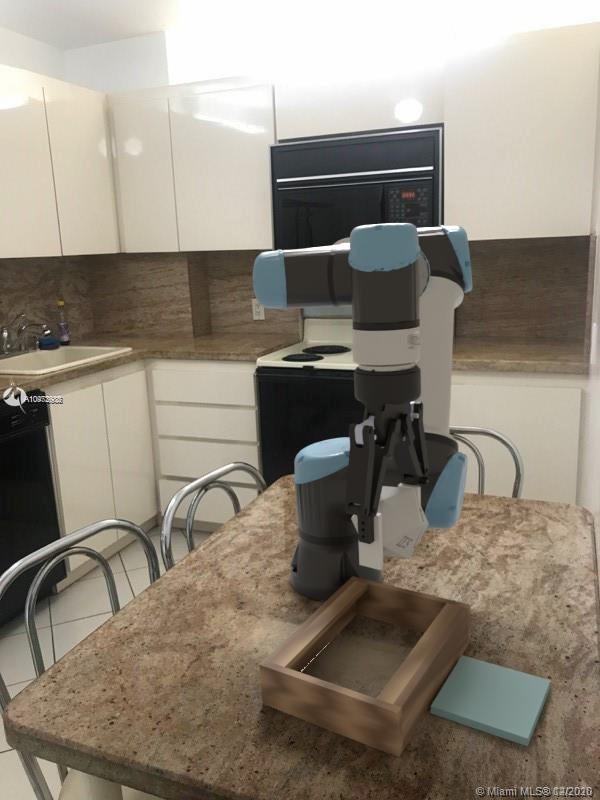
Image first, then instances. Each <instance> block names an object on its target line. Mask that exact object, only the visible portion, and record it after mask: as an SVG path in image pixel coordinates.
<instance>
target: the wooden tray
mask: <svg viewBox="0 0 600 800" xmlns="http://www.w3.org/2000/svg"><path fill="white" fill-rule="evenodd" d="M471 608H472V604H470V603H465V602H461V601H458V600H457V601H456V600H452V599H448V598H444V597H440V596H435V595H432V594H427V593H423V592H420V591H415V590H411V589H407V588H402V587H398V586H396V585H395V586H394V585H391V584H386V583H382V582H381V583H378V582H374V581H370V580H366V579H362V578H358V577H354V576H352V577H351V578H350V579H349V580H348V581H347V582H346V583H345V584H344V585H343V586H342V587H341V588H340V589H339V590H338V591H337V592H335V593H334V594H333V595H332V596H331V597H330V598H329V599H328V600H327V601H324V602H323V604H322V605H320V606H319V607H318V608H317V609H316V610H315V611H314V612H313V613H312V614H311V615H309V617H308V618H307V619H305V620H304V622H302V623H301V624H300V625H299V626H298V627H297V628H296V629H295V630H294V631H293V632H292V633H290V635H289V636H287V637H286V638H285V639H284V640H283V641H282V642H281V643H280V644H279V645H278V646H277V647H276V648H274V650H273V651H271V653H270V654H268V656H266V657H265V658H264V659H263V660H262V661H261V662H259V664H258V667H259V679H260V691H261V701H262V705H263V704H265V705H264V706H266V705H267V706H266V707H268V706H270V707H269V708H271V707H272V708H271V709H273V708H275V709H274V710H276V709H278V710H277V711H279V710H281V711H283V712H282V713H284V712H285V713H284V714H286V713H287V714H286V715H289V714H290V715H289V716H291V715H293V716H292V717H294V716H295V718H297V717H298V718H297V719H299V718H301V719H300V720H302V719H303V720H302V721H304V720H305V722H307V721H308V722H307V723H309V722H310V723H309V724H312V725H315V726H318V727H320V728H321V729H325V730H327V731H330V732H333V733H335V734H338V735H340V736H343V737H345V738H347V739H351V740H353V741H356V742H359V743H361V744H364V745H366V746H369V747H372V748H374V749H376V750H379V751H381V752H384V753H387V754H389V755H392V756H395V757H398V758H400V756H401V755H402V754H403V751H405V748H406V747H407V746H408V744H409V743H410V741H411V739H412V737H413V736H414V734H415V732H416V730H418V727H419V726H420V724H421V723H422V721H423V719H424V718H425V716H426V715H427V714H428V712H429V709H431V705H432V703H433V702H434V700H435V699H436V697H437V695H438V694H439V692H440V690H441V689H442V687H443V686H444V684H445V682H446V681H447V679H448V678H449V676H450V674H451V673H452V671H453V669H454V668H455V666H456V665H457V663H458V661H459V660H460V658H461V656H462V655H463V654H464V653H465V651H466V650H467V648H468V647H469V645H470V643H471V640H472V634H471V633H472V630H471V629H472V626H471V625H472V624H471V623H472V621H471V620H472V619H471V618H472V609H471ZM357 615H358V616H362V617H366V618H370V619H373V620H377V621H381V622H384V623H388V624H390V625H395V626H399V627H403V628H406V629H410V630H413V631H417V632H420V633H423V635H422V636H421V637H420V639H418V641H417V642H416V644H415V645H414V647H413V648H412V650H411V651H410V652H409V653H408V655H407V656H406V657H405V659H404V660H403V662H402V663H401V664H400V665H399V667H398V668H397V669H396V671H395V672H394V674H393V675H392V676H391V678H390V679H389V681H388V682H387V683H386V685H385V686H384V688H383V689H382V690H381V692H379V694H378V695H377V697H376V698H375V697H373V696H370V695H367V694H363V693H360V692H358V691H356V690H353V689H350V688H346V687H344V686H341V685H338V684H335V683H332V682H329V681H327V680H323V679H322V678H321V679H320V678H317V677H315V676H311V675H310V674H305V673H303V672H302V673H300V672H301V670H302V669H304V667H306V666H307V665H308V663H310V661H311V660H312V659H313V658H315V657H316V655H317V654H318V653H319V652H320V651H321V650H322V649H323V648H324V647H325V646H326V645H327V644H328V643H329V642H330V641H331V640H332V639H333V638H334V637H335V636H336V637H337V636H338V635H339V634H340V633H341V632H342V631H343V630H344V628H346V626H348V624H350V622H351V621H352V620H353V619H354V618H355V617H356V616H357ZM341 630H342V631H341ZM340 631H341V632H340ZM339 632H340V633H339ZM336 637H335V638H336ZM335 638H334V639H335ZM334 639H333V640H334ZM333 640H332V641H333ZM332 641H331V642H332ZM331 642H330V643H331ZM330 643H329V644H330ZM329 644H328V645H329ZM328 645H327V646H328ZM327 646H326V647H327ZM326 647H325V648H326ZM325 648H324V649H325ZM316 658H317V657H316ZM316 658H315V659H316ZM310 664H311V663H310ZM308 666H309V665H308ZM308 666H307V667H308ZM307 667H306V668H307ZM281 711H280V712H281Z"/></svg>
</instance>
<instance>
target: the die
mask: <svg viewBox="0 0 600 800" xmlns="http://www.w3.org/2000/svg"><path fill="white" fill-rule="evenodd" d="M377 513H381V514H382V536H383V557H389V558H397V559H398V558H399V559H405V560H410V558H411V557H412V555H413V553H414V552H415V550H416V547H417V546H418V544H419V542H420V541H421V539H422V537H423V536H424V533H425V532H426V531H427V530H426V529H427V527H428V525H429V523H428V521H427V519H426V516H425V514H424V512H423V509H422V507H421V505H420V502H419V500H418V498H417V495H416V493H415V491H414V489H413V488H401V487H389V486H382V491H381V496H380V501H379V506H378V511H377ZM351 519H352V521H353V524H354V526H355V528H356V530H357V532H358V519H357V515H353V516H352V518H351Z"/></svg>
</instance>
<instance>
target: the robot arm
mask: <svg viewBox="0 0 600 800" xmlns="http://www.w3.org/2000/svg"><path fill="white" fill-rule="evenodd" d="M469 245H470V244H469V240H468V235H467V231H466V229H465V228H464V227H462V226H459V225H443V224H439V225H438V226H431V227H417V226H416V225H414V224H413V223H409V222H403V223H402V222H400V223H399V222H394V223H377V224H364V225H359V226H356V227H354V228H353V229H352V230H351V231H350V235H349V237H345V238H342V239H339V240H337V241H336V242H334V243H333V244H332V245H325V246H316V247H306V248H297V249H283V250H282V249H277V250H272V251H264V252H263V251H262V252H261V253H260V254H259V255H258V256H257V257H256V258H255V260H254V264H253V267H252V268H253V269H252V285H253V292H254V295H255V298H256V300H257V302H258V304H259V305H260V306H261V307H263V308H264V309H275V310H276V309H278V310H279V309H281V310H284V311H285V310H289V309H308V308H309V309H310V308H314V309H315V308H331V307H335V308H345V307H346V308H347V307H351V313H352V314H351V315H352V317H351V318H352V361H353V363H354V364H355V365H357V366H356V367H355V369H354V370H353V381H354V383H353V386H354V397H355V399H356V400H357V401H359V402H361V403H362V404H363V405H364V406H365V408H364V415H363V422H360V424H358V423H350V424H349V426H348V437H344V436H343V437H336V438H335V437H334V438H330V439H325V440H322V441H318V442H314V443H312V444H309V445H307V446H305V447H303V448H302V449H301V450H300V451H299V452H298V453H297V454H296V456H295V458H294V477H293V483H294V490H295V502H296V503H295V505H296V515H297V516H296V520H297V531H298V532H297V534H298V535H297V536H298V537H297V541H296V545H295V549H294V552H293V557H292V560H291V563H290V569H289V574H290V577H289V578H290V585H291V587H292V588H293V589H294V591H296V592H297V593H298V594H300V595H301V596H304V597H305V598H307V599H310V600H313V601H314V600H315V601H319V602H326V601H327V600H328V599H329V598H330V597H331V596H332V595H333V594H334V593H335V592H337V591H338V590H339V589H340V588H341V587H342V586H343V585H344V584H345V583H346V582H347V581H348V580H349V579H350V578H351V577H352V576H354V577H358V578H362V579H366V580H370V581H374V582H378V583H382V580H383V568H384V556H383V536H382V514H381V513H377V511H378V506H379V501H380V496H381V491H382V486H389V487H401V488H413V489H414V491H415V493H416V495H417V498H418V500H419V502H420V505H421V507H422V509H423V512H424V514H425V516H426V519H427V521H428V523H429V525H428V527H427V529H426V530H425V531H427V530H429V529H430V530H431V529H432V530H435V529H436V530H448V529H451V528H453V527H454V526H456V524H457V523H458V521H459V519H460V517H461V516H460V515H461V512H462V507H463V504H464V503H463V502H464V498H465V497H464V496H465V491H466V485H467V484H466V483H467V472H468V465H469V464H468V463H469V462H468V455H467V454H466V453H463V452H462V451H459V442H458V441H457V439H456V438H454V436H452V434H451V433H450V425H451V424H450V422H451V421H450V420H451V398H452V397H451V396H452V395H451V393H452V375H453V374H452V373H453V371H452V370H453V369H452V367H453V349H454V348H453V345H454V344H453V343H454V342H453V341H454V340H453V339H454V320H455V317H454V315H455V309H456V308H458V307H459V306H460V305H461V303H462V302H463V300H464V295H465V294H466V293H468V292H472V290H473V273H472V264H471V254H470V247H469ZM464 293H465V294H464ZM353 515H357V519H358V532H357V530H356V528H355V526H354V524H353V521H352V519H351V518H352V516H353Z"/></svg>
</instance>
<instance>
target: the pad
mask: <svg viewBox="0 0 600 800" xmlns="http://www.w3.org/2000/svg"><path fill="white" fill-rule="evenodd" d="M551 683H552V681H551V679H546V678H543V677H541V676H536V675H533V674H529V673H526V672H522V671H519V670H517V669H512V668H509V667H505V666H502V665H499V664H496V663H495V664H494V663H491V662H487V661H484V660H480V659H477V658H476V659H475V658H473V657H469V656H466V655H463V654H462V656H461V658H460V659H459V661H458V663H457V664H456V666H455V667H454V669H453V671H452V672H451V674H450V676H449V677H448V679H447V680H446V682H445V684H444V685H443V687H442V689H441V690H440V692H439V693H438V695H437V697H436V698H435V700H434V701H433V703H432V705H431V706H430V713H431V714H432V715H435V716H438V717H440V718H443V719H446V720H450V721H452V722H455V723H458V724H461V725H463V726H467V727H470V728H473V729H475V730H478V731H481V732H484V733H487V734H491V735H492V736H495V737H500V738H502V739H505V740H506V741H507V740H508V741H511V742H513V743H517V744H519V745H523V746H525V747H529V744H530V742H531V739H532V736H533V734H534V731H535V728H536V726H537V724H538V721H539V718H540V715H541V713H542V710H543V708H544V705H545V703H546V700H547V698H548V695H549V692H550V690H551V685H552V684H551Z"/></svg>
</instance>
